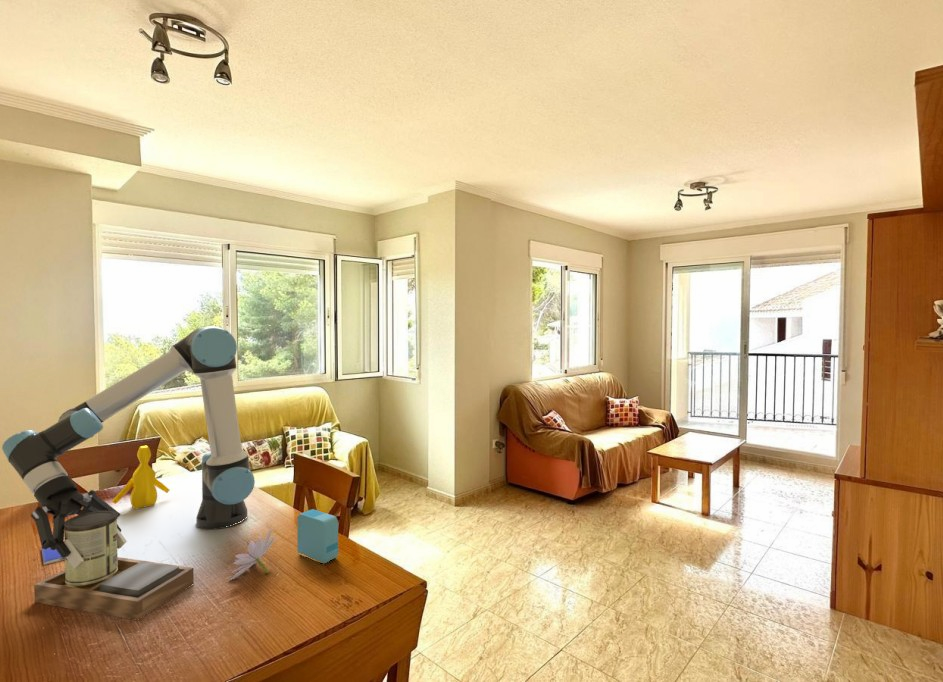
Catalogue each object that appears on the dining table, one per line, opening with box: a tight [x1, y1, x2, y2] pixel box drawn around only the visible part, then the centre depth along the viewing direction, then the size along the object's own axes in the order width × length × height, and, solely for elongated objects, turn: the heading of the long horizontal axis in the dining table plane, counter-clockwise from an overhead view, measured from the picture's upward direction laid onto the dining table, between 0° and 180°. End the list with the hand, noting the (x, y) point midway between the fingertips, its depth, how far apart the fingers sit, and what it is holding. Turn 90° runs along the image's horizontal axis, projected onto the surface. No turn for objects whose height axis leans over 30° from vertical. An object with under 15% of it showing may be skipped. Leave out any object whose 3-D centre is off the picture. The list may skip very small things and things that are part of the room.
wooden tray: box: [33, 556, 195, 621], centre depth 116 cm, size 30×16×5 cm, turn 76°
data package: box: [296, 508, 339, 564], centre depth 135 cm, size 12×4×12 cm, turn 57°
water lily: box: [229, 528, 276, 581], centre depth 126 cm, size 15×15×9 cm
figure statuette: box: [111, 445, 171, 510], centre depth 173 cm, size 18×8×22 cm, turn 137°
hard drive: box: [41, 547, 65, 566], centre depth 137 cm, size 2×8×12 cm
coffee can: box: [64, 511, 119, 586], centre depth 118 cm, size 10×10×14 cm
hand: (101, 554), depth 117 cm, fingers closed on coffee can, 10 cm apart
